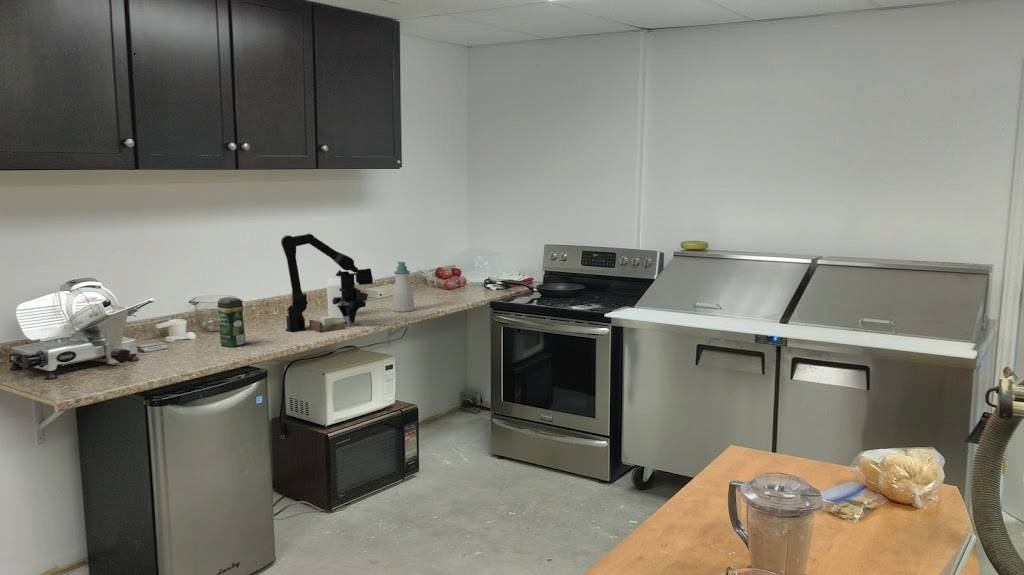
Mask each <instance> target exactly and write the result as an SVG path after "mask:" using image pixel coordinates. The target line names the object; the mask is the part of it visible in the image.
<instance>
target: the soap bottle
mask: <svg viewBox="0 0 1024 575" xmlns="http://www.w3.org/2000/svg"><path fill="white" fill-rule="evenodd" d="M396 264H398V266H396V270H395V271H393V273H394V276H395V281H394V288H393V292H392V309H393V312H396V313H408V312H412V311H414V310H415V299H414V298H415V297H414V292H413V289H412V284H411V281H410V273H411V271H410V270H408V267H407V266H406V262H405V261H397V262H396Z"/></svg>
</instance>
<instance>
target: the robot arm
mask: <svg viewBox="0 0 1024 575" xmlns="http://www.w3.org/2000/svg"><path fill="white" fill-rule="evenodd" d="M280 244H281V247H282V249H283V252H284V254H285V257H286V261H287V269H288V274H289V281H290V286H291V304H290V306H289V307H288V308H287V309H286V311H287V314H288V315H286V316H285V317H286V328H285V331H288V332H290V333H293V332H300V331H305V330H307V328H306V318H305V317H304V314H303V313H304V312H305V311H306V309H307V307H308V305H309V302H308V298H307V293H306V292H303V290H302V287H301V280H300V274H299V268H298V263H297V247H299V246H300V247H301V246H304V245H311V246H312V247H313V248H315V249H316V250H318V251H320V252H321V253H323V254H324V255H325V256H327V257H329V258H330V259H332V261H333V262H334V263H335V264H337V265H338V266H339V267H340V268H341V269H342V270H344V271H342V270H341V269H338V271H337V272H336V273H335V276H341V288H339V291H341V294H342V296H341V297H334V298H333V304H337V303H339V305H337V307H338V308H339V310H340V311H341V313H342V315H343V317H344V316H349V319H350V321H351V323H354V319H355V320H356V316H357V312H358V311H359V309H362V308H365V307H366V306H367V305H366V302H367V300H368V297H369V294H368V293H364V292H362V291H361V289H358V287H356V286H355V283H356V284H358V285H359V286H367V285H373V274H372V269H371V268H365V269H364V268H362V269H359V268H358V267H357V266H356V265H355V260H354V259H353V258H352V257H351V256H349V255H346V254H344V253H341V252H339V251H336V250H335V249H334V248H332V247H331V246H329V245H328V244H326V243H324V242H323V241H321V240H319V239H318V238H317V237H316V236H314V235H313V234H311V233H306V234H302V235H301V234H299V235H295V236H294V235H293V236H292V235H289V234H287V235H283V236H282V238H281V240H280ZM349 271H350V272H351V273H350V272H349Z"/></svg>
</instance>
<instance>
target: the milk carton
mask: <svg viewBox="0 0 1024 575" xmlns="http://www.w3.org/2000/svg"><path fill="white" fill-rule="evenodd" d="M339 288H341V276H336V275H329V278H328V281H327V283H326V297H327V298H326V299H327V313H328V314H327V315H328V316H332V317H335V319H344V317H343V315H342V313H341V311H340V310H339V308H338V307H337V305H339V303H337V304H333V298H334V297H341V296H342V294H341V291H339Z"/></svg>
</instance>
